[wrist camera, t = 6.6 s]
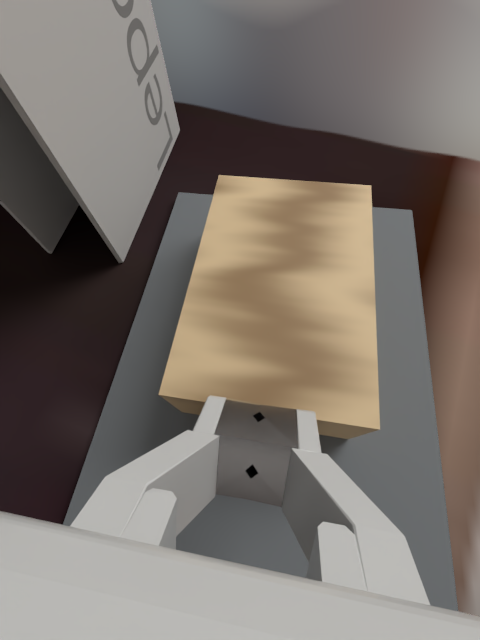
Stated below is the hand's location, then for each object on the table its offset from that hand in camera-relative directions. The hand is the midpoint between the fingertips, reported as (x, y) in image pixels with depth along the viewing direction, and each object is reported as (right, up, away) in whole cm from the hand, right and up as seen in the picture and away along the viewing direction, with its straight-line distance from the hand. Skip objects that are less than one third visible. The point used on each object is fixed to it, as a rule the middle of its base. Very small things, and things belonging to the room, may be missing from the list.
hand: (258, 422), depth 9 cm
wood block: (0, -1, +4) cm, 4 cm away
